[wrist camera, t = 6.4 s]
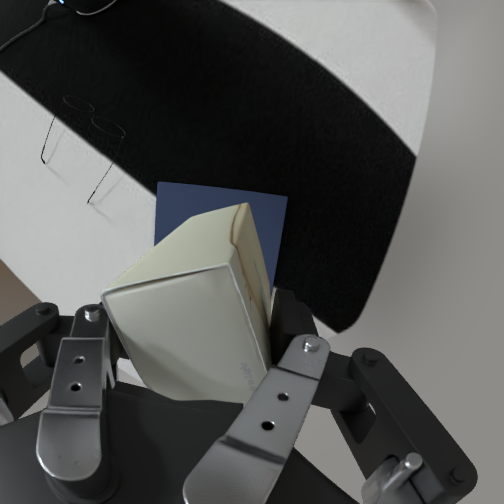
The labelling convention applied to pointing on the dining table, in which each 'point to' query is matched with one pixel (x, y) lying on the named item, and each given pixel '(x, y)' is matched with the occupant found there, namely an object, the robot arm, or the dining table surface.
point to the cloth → (213, 198)
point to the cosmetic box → (198, 310)
